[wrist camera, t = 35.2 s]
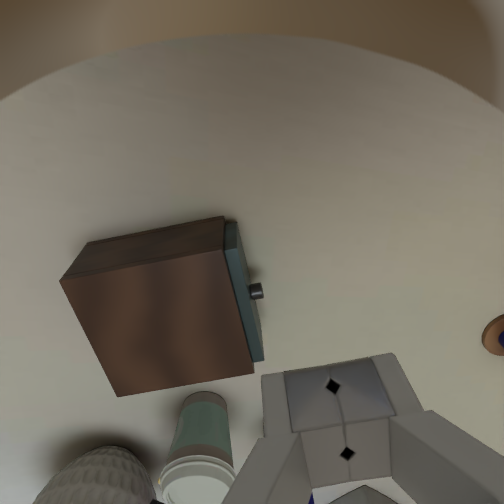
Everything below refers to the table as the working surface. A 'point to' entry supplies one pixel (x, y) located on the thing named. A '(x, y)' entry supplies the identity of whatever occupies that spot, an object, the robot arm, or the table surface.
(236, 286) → the drawer
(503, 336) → the cylinder
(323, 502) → the table surface
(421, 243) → the table surface
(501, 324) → the coaster
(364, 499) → the planter
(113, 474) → the vase
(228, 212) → the table surface
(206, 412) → the coffee cup
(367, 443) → the robot arm
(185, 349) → the cabinet
